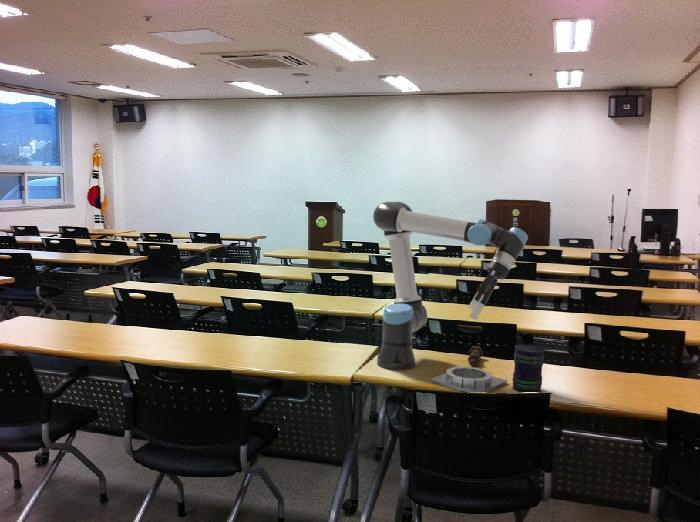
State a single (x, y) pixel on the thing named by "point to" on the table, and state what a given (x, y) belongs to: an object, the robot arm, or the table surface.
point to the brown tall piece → (475, 355)
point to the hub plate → (468, 389)
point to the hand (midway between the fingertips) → (472, 313)
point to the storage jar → (528, 368)
